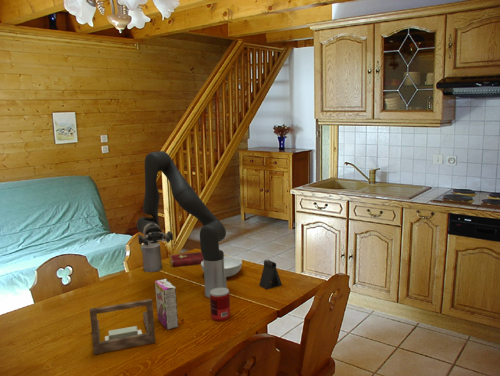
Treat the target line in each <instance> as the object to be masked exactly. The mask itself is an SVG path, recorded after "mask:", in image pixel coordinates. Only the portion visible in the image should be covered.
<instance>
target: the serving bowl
mask: <svg viewBox="0 0 500 376" xmlns="http://www.w3.org/2000/svg"><path fill="white" fill-rule="evenodd" d="M242 265H243V260H242V259H241V258H238V257H235V256H228V255H224V270H225V275H226V278H230V277H232V276H235V275H236V274H237V273H238V272H240V271H241V269H242ZM200 267H201V270H202V272H204V261H202V262H201V264H200Z"/></svg>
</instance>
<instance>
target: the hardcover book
mask: <svg viewBox="0 0 500 376" xmlns="http://www.w3.org/2000/svg"><path fill="white" fill-rule="evenodd" d="M169 258H170V264H171V268H172V267H173V268H181V266H182V267H188V266H189V267H190V266H197V265H201V262H202V261H203V255H202V252H201V251H197V252H187V253H178V254H170V255H169Z"/></svg>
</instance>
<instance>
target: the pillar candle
mask: <svg viewBox="0 0 500 376" xmlns="http://www.w3.org/2000/svg"><path fill="white" fill-rule="evenodd" d="M141 251H142V262H143V263H142V264H143V271H144V272H146V273H154V272H155V273H156V272H159V271H161V270H162V269H163V264H162V262H163V261H162V253H161V243H160V242H157V243H148V245H147V246H146V245H145V244H144V243H142V244H141Z"/></svg>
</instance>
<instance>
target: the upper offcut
mask: <svg viewBox="0 0 500 376" xmlns="http://www.w3.org/2000/svg"><path fill="white" fill-rule="evenodd" d="M137 330H138V326H137V325H133V326H130V327H129V326H128V327H124V328H123V327H122V328H117V329H111V330H108V336H109V340H112V339H117V338H123V337H128V336H133V335H138V331H137Z"/></svg>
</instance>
